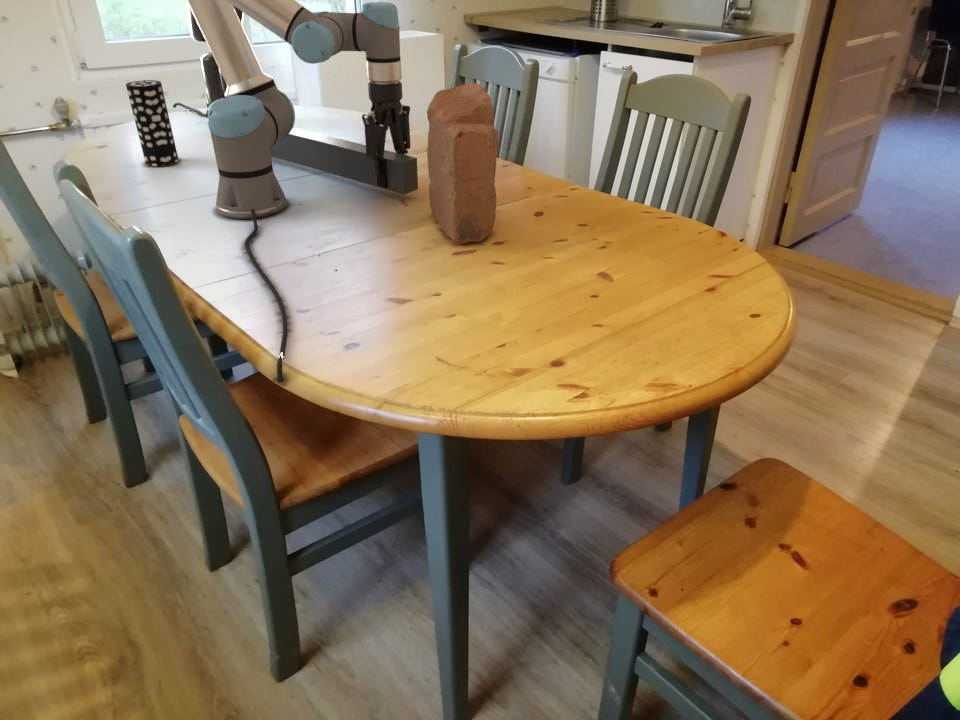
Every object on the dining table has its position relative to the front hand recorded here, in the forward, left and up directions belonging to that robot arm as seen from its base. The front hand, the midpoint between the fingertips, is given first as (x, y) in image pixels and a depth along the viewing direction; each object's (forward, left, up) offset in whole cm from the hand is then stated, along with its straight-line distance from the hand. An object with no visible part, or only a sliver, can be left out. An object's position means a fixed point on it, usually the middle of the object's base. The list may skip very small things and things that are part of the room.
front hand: (390, 183), depth 165 cm
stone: (-26, -6, -3) cm, 27 cm away
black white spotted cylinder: (+52, +45, +7) cm, 69 cm away
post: (+25, +11, -1) cm, 28 cm away
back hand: (+51, +23, +2) cm, 56 cm away
